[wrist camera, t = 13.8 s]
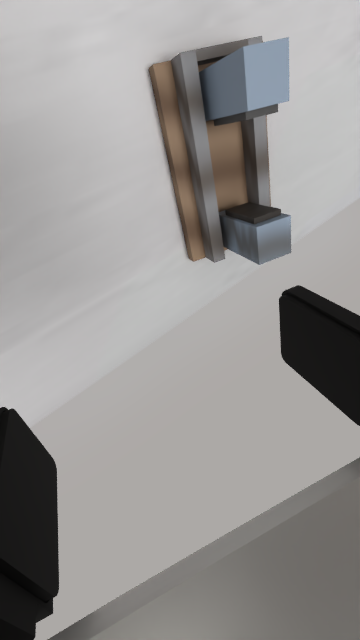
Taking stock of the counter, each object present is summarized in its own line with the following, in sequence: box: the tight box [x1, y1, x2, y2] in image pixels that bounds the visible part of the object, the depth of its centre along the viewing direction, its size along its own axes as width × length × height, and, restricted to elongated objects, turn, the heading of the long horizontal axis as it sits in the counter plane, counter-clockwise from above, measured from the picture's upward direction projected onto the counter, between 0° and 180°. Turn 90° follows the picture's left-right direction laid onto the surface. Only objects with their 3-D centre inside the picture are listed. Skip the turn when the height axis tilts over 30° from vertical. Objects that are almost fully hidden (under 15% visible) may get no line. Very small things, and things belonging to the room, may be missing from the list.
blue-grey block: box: [199, 37, 289, 126], centre depth 27 cm, size 5×4×9 cm
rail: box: [149, 36, 291, 265], centre depth 31 cm, size 20×12×10 cm, turn 13°
